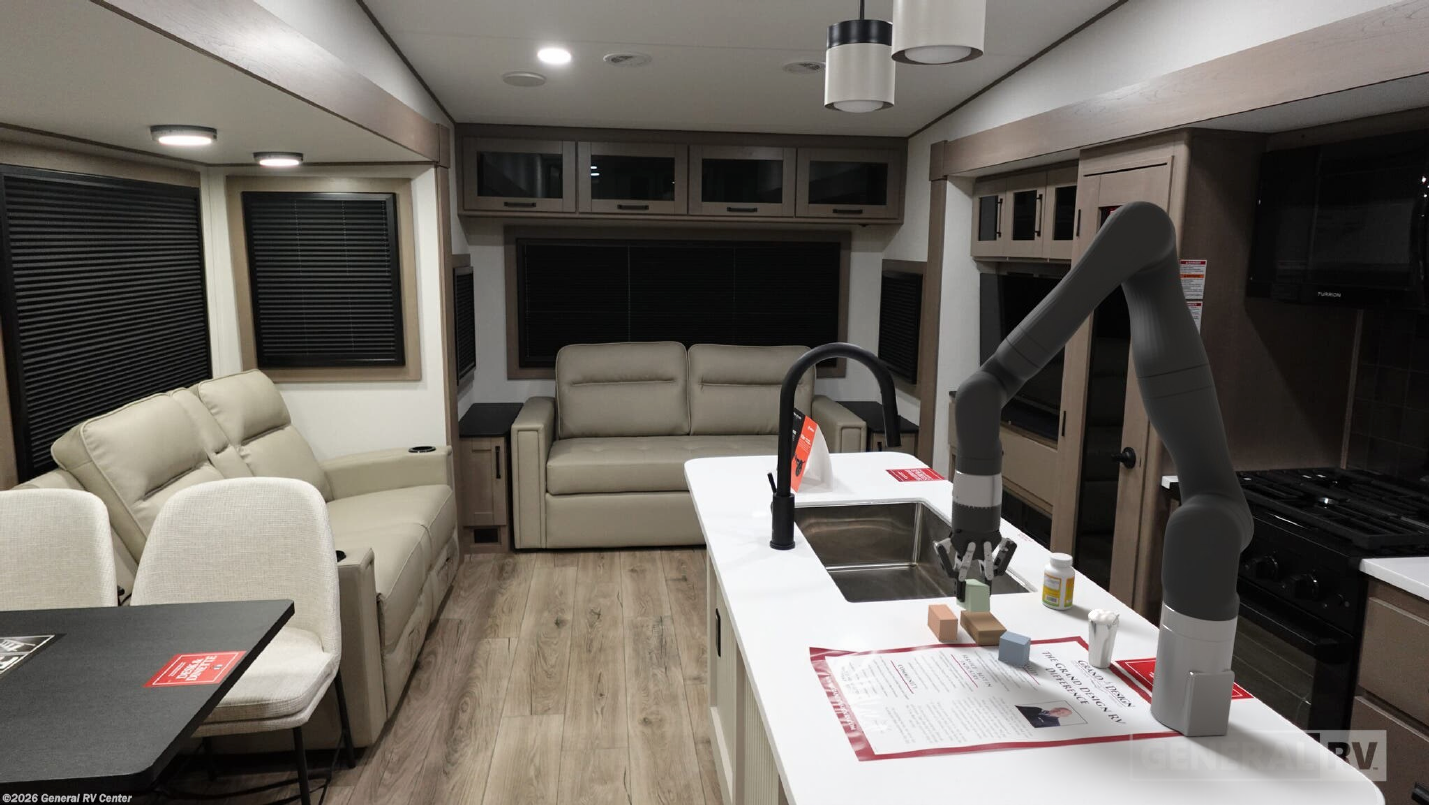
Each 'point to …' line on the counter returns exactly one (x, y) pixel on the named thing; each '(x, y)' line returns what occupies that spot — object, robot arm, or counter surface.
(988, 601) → the sage brick
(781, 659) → the counter surface
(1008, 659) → the slate brick
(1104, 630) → the milkshake
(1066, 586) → the supplement bottle
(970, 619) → the walnut block
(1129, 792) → the counter surface
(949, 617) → the terracotta brick
